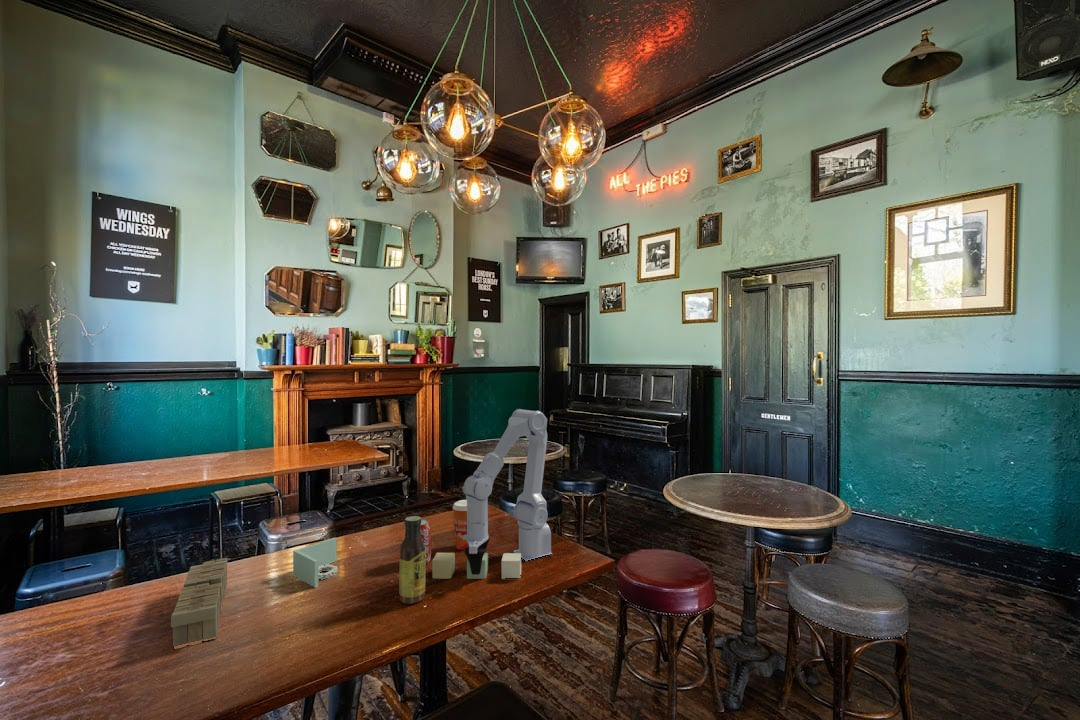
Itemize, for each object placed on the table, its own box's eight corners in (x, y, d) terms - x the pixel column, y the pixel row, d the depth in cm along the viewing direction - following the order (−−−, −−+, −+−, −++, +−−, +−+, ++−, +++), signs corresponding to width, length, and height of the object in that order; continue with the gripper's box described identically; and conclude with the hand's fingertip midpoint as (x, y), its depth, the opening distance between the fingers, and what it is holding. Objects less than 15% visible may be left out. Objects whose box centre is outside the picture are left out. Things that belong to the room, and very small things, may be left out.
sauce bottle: (418, 606, 111) (417, 524, 111) (394, 604, 113) (394, 522, 113) (430, 593, 118) (429, 515, 118) (407, 591, 119) (407, 513, 119)
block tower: (191, 597, 119) (169, 655, 93) (191, 564, 119) (168, 613, 94) (228, 589, 123) (216, 643, 97) (228, 557, 123) (216, 602, 98)
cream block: (521, 571, 130) (521, 553, 130) (520, 579, 125) (519, 561, 125) (503, 571, 130) (503, 553, 130) (501, 579, 125) (501, 560, 125)
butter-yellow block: (454, 570, 131) (454, 552, 131) (450, 578, 126) (450, 560, 126) (437, 570, 131) (437, 552, 131) (432, 578, 126) (432, 560, 126)
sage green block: (487, 570, 131) (487, 552, 131) (485, 578, 126) (485, 560, 126) (470, 570, 131) (470, 552, 131) (466, 578, 126) (466, 560, 126)
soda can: (434, 558, 139) (433, 518, 139) (426, 568, 132) (425, 526, 132) (411, 557, 140) (411, 517, 140) (402, 567, 133) (401, 525, 133)
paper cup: (448, 550, 145) (448, 505, 145) (459, 541, 152) (459, 498, 152) (471, 553, 143) (470, 507, 143) (481, 543, 150) (481, 500, 150)
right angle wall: (315, 590, 121) (315, 561, 121) (293, 577, 128) (293, 550, 128) (357, 573, 130) (357, 547, 130) (334, 562, 138) (334, 537, 138)
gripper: (467, 511, 136) (468, 558, 135) (457, 529, 121) (457, 581, 121) (491, 511, 135) (492, 558, 135) (484, 529, 121) (484, 581, 121)
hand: (477, 569), depth 128 cm, fingers closed on sage green block, 5 cm apart
